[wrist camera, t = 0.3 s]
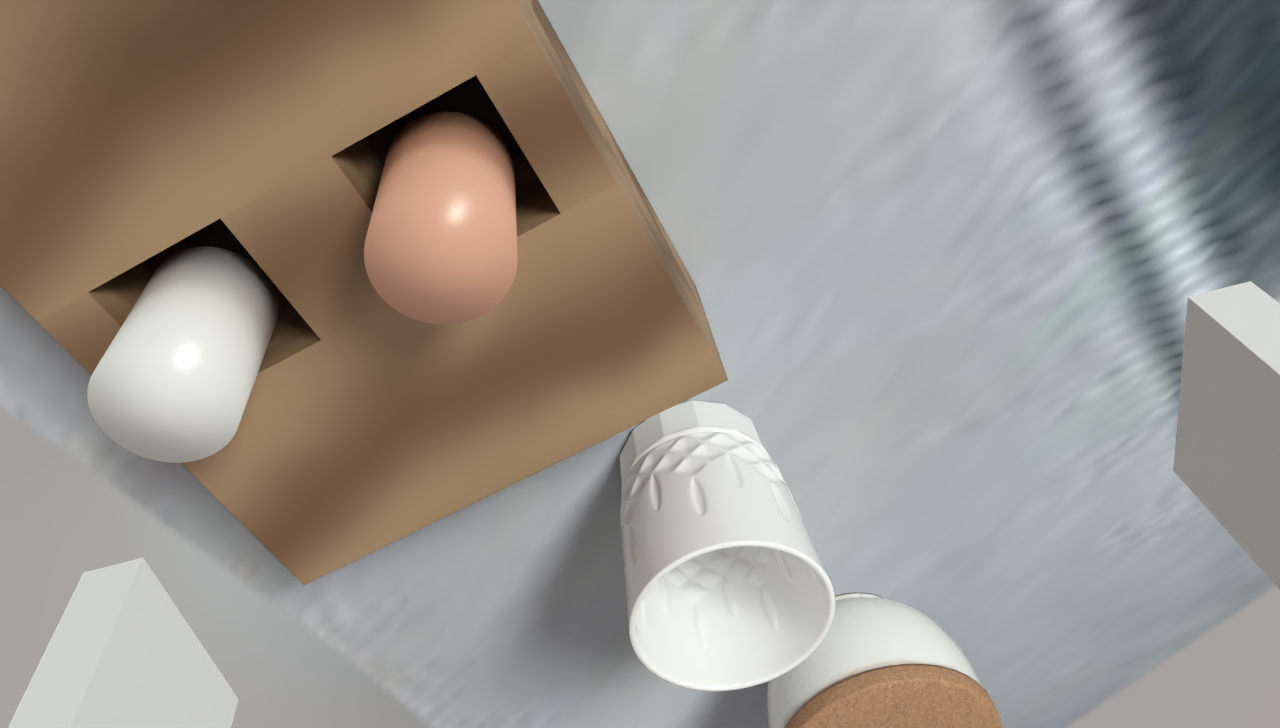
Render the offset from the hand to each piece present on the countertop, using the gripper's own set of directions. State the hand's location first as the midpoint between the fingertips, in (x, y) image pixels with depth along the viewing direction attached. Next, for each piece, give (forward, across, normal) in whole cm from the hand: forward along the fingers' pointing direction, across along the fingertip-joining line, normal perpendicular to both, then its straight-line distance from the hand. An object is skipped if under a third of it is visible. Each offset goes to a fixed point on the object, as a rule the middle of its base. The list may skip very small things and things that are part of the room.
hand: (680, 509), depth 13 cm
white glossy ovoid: (+21, -13, -5) cm, 25 cm away
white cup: (+27, 0, -21) cm, 34 cm away
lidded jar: (+27, +6, -35) cm, 45 cm away
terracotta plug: (+21, -5, -3) cm, 22 cm away
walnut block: (+27, -9, -4) cm, 29 cm away
